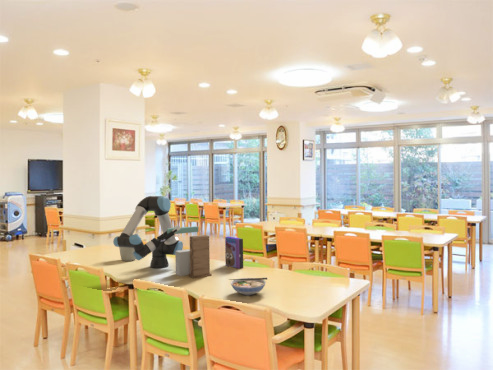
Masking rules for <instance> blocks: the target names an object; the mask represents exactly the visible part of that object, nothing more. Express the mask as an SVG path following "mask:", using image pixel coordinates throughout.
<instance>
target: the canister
mask: <svg viewBox="0 0 493 370" xmlns="http://www.w3.org/2000/svg"><path fill="white" fill-rule="evenodd" d="M118 248H119V253H120V259H121V261H123V262H133V261H135V260H137V259H136V258H135V257H134V255H133V252H134V251H135V250H134V248H128V247H118ZM132 260H133V261H132Z"/></svg>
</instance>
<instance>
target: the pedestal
mask: <svg viewBox="0 0 493 370" xmlns="http://www.w3.org/2000/svg"><path fill="white" fill-rule="evenodd" d="M189 249H190V274H188V275H187V276H188V277H190V278H192V279H198V278H203V277H204V278H205V277H211V276H212V273H211V269H210V267H211V266H210V264H211V263H210V235H208V234H202V235H201V234H200V235H199V234H198V235H193V236H192V235H190V236H189Z"/></svg>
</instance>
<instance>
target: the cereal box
mask: <svg viewBox="0 0 493 370" xmlns="http://www.w3.org/2000/svg"><path fill="white" fill-rule="evenodd" d="M224 240H225V241H224V246H225V247H224V248H225V250H224V251H225V253H224V254H225V258H224V259H225V267H230V268H234V269H239V270H240V269H243V268H244V239H243V238H240V237H235V236H225V238H224Z"/></svg>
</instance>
